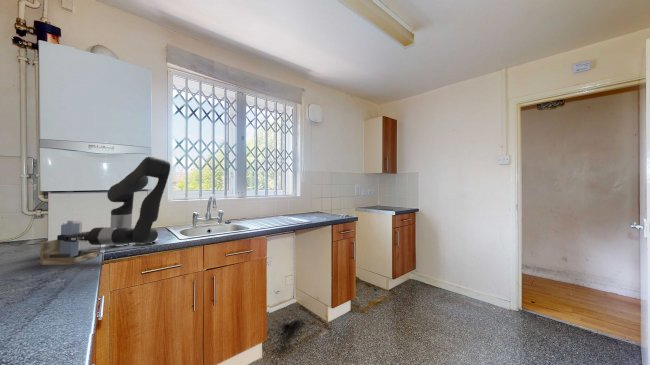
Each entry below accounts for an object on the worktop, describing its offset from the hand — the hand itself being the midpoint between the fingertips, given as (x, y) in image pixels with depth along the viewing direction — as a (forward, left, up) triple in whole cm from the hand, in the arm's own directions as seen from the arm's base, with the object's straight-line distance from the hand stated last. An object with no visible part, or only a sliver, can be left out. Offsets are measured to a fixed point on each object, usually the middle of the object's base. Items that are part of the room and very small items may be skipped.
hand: (62, 236), depth 110 cm
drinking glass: (-15, -8, -10) cm, 20 cm away
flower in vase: (-34, +16, -10) cm, 39 cm away
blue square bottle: (0, +3, -8) cm, 9 cm away
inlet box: (0, +4, -10) cm, 11 cm away
